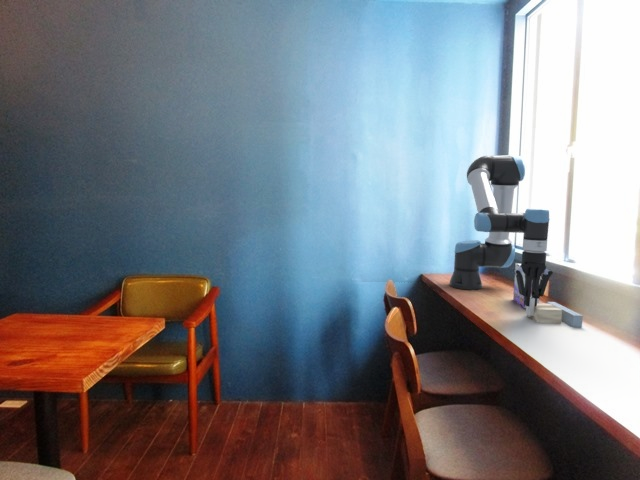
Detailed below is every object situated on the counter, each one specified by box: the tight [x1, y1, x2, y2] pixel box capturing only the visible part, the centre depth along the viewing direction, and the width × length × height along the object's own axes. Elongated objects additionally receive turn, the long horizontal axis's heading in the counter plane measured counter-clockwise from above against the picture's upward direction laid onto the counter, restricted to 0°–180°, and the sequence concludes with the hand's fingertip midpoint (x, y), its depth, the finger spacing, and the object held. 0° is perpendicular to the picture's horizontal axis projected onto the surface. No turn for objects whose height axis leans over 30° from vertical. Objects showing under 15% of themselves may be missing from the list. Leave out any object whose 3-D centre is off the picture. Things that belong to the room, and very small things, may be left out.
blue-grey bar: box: [545, 301, 584, 328], centre depth 132 cm, size 17×3×4 cm, turn 176°
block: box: [526, 302, 562, 324], centre depth 132 cm, size 8×8×5 cm
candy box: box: [512, 263, 542, 309], centre depth 150 cm, size 14×6×16 cm, turn 168°
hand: (529, 314), depth 132 cm, fingers closed
